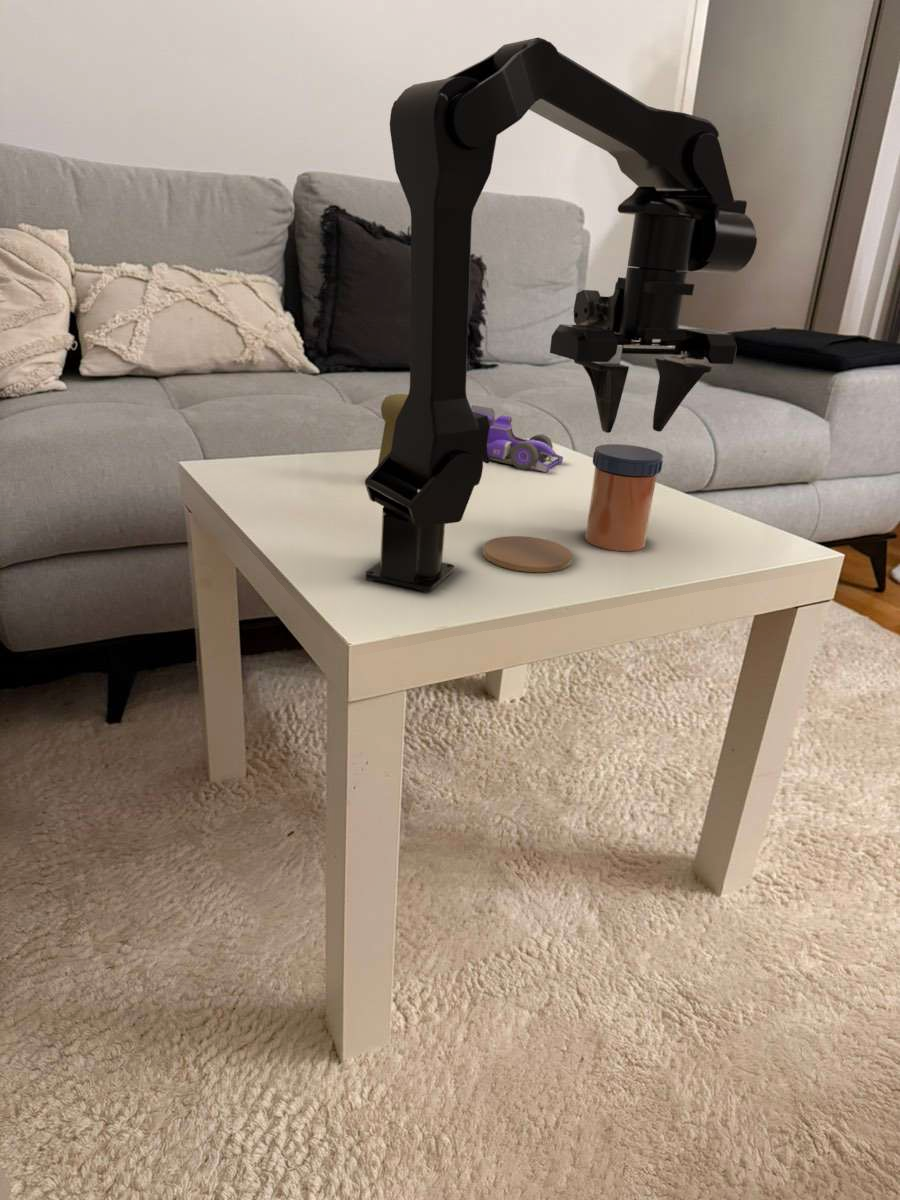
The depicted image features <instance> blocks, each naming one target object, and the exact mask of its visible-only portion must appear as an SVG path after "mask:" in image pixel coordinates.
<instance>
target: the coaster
mask: <svg viewBox="0 0 900 1200" xmlns="http://www.w3.org/2000/svg"><path fill="white" fill-rule="evenodd" d="M482 555H483V557H484V559H486V560H487V561H488V562H490V563H492V564H493V565H496V566H498V567H501V568H504V569H508V570H512V571H517V572H522V573H523V572H524V573H539V574H540V573H551V572H559V571H561V570H564V569H567V568H568V567H569V566H570V565H571V564H572V561H573V554H572V552H571V551H570V550H569V549H568V548H567V547H565V546H564V545H562V544H560V543H557V542H554V541H551V540H549V539H544V538H539V537H533V536H522V535H510V536H509V535H508V536H507V535H506V536H500V537H496V538H492V539H490V540H487V541H486V542H485V543H483V546H482Z"/></svg>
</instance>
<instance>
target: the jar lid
mask: <svg viewBox="0 0 900 1200" xmlns="http://www.w3.org/2000/svg"><path fill="white" fill-rule="evenodd" d="M663 462H664V461H663V454H662V453H661V452H660V451H657V450H654V449H651V448H648V447H643V446H637V445H631V444H622V443H608V444H600V445H597V446H596V447H595V448H594V451H593V456H592V465H593V466H594V468H595V467H597V468H599V469H601V470H604V471H607V472H611V473H615V474H621V475H629V476H651V475H656V474H657V475H658V474H660V473H661V471H662V468H663Z"/></svg>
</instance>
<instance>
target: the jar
mask: <svg viewBox="0 0 900 1200" xmlns="http://www.w3.org/2000/svg"><path fill="white" fill-rule="evenodd" d="M657 475H658V474H656V475H651V476H629V475H621V474H615V473H611V472H607V471H604V470H601V469H599V468H597V467H595V466H594V473H593V482H592V488H591V494H590V502H589V508H588V516H587V523H586V529H585V536H584V537H585V540H586V542H588V543H589V544H591V545H593V546H595V547H598V548H601V549H604V550H609V551H617V552H633V551H634V552H635V551H639V550H643V548H645V545H646V539H647V533H648V528H649V522H650V516H651V511H652V505H653V498H654V493H655V487H656V486H655V485H656V482H657Z"/></svg>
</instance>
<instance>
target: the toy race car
mask: <svg viewBox="0 0 900 1200" xmlns="http://www.w3.org/2000/svg"><path fill="white" fill-rule="evenodd" d="M470 407H471V410H472V411H474V412H477V413H479V414H482V415H485V416H487V417H488V418H489V426H490V428H489V433H488V439H487V454H488V457H489V460H490V461H493V462H498V463H502V464H506V465H512V466H515V467H516V469H518V470H521V471H522V470H523V471H524V470H525V471H526V470H529V469H531V468H532V467H534V468H533V470H534V471H538V472H542V473H548V472H549V469H550V468H551V467H552V466H554V465H556V464H562V463H563V460H564V457H563V456H562V455H560V454H558V453H556V451H555V450H554V449H553V447H554V445H553V442H552V440H551V439H550V437H548V435H545V434H541V433H540V434H536V435H533V436H532V437H530V438H529V439H527V438H520V437H517V436H516V435H515V434H514V432H513V424H512V421H513V420H512V419H513V418H512V416H509V415H504V414H503V415H499V416H497V418H495V414H496V413H495V412H496V411H495V410H494V409H493V408H490V407H485V406H484V407H483V406H478V405H471V406H470ZM546 459H548V460H546ZM544 460H546V461H544ZM543 461H544V462H543Z"/></svg>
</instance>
